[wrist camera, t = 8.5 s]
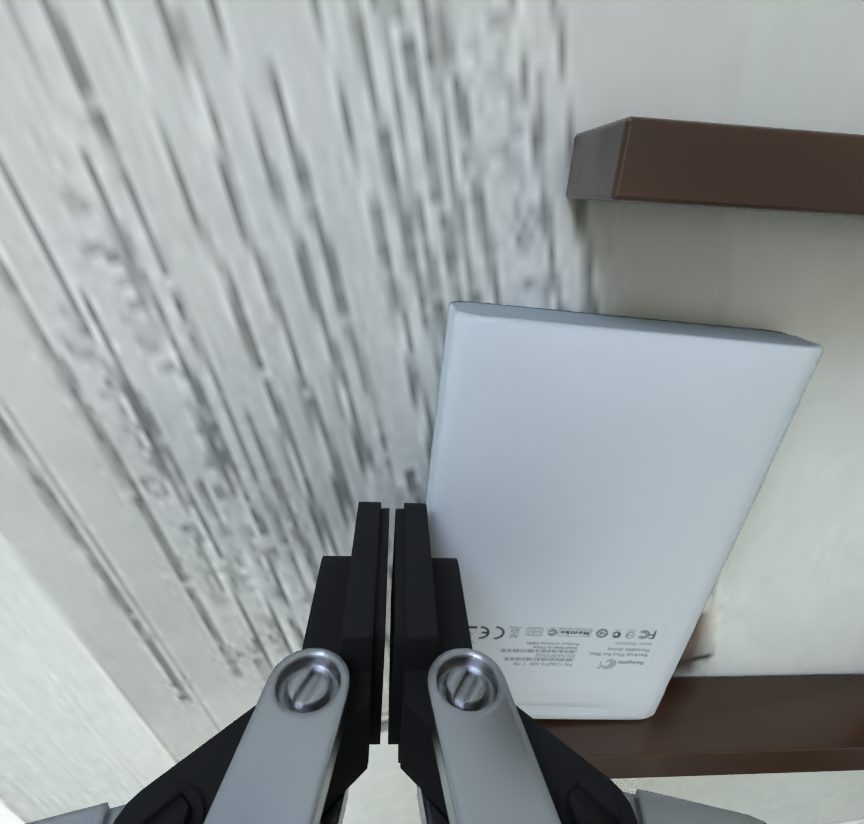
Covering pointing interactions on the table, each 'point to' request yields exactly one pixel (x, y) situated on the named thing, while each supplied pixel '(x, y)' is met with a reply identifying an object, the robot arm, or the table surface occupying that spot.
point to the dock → (725, 696)
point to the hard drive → (598, 488)
